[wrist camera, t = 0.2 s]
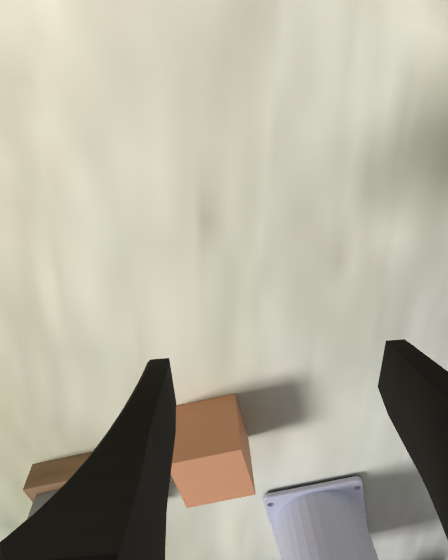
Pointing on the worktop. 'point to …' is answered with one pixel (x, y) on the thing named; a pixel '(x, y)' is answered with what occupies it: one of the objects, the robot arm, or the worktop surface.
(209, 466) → the terracotta cube
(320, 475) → the worktop surface
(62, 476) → the walnut slab
